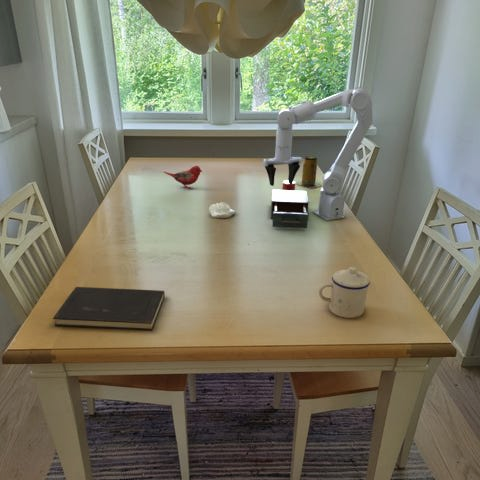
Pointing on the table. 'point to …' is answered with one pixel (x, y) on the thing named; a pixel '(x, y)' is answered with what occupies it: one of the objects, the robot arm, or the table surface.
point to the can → (288, 186)
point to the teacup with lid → (347, 293)
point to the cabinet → (288, 198)
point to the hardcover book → (110, 308)
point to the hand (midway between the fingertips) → (281, 184)
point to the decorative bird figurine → (187, 176)
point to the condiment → (309, 172)
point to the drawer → (290, 215)
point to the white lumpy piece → (221, 210)
